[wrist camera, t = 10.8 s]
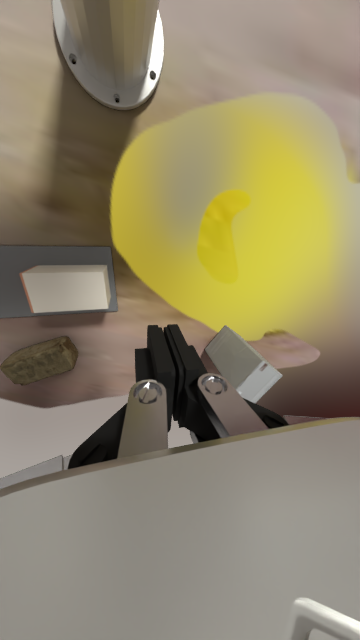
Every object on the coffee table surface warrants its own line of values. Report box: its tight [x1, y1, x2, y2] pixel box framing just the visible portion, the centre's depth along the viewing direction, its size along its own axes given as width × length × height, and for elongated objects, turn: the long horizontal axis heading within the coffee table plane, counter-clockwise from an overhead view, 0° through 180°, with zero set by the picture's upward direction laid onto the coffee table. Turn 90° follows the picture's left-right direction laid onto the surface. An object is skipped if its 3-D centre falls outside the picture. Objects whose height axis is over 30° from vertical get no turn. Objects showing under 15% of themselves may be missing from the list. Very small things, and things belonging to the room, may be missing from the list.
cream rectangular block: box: [19, 265, 111, 313], centre depth 32 cm, size 6×6×11 cm
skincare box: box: [205, 326, 282, 403], centre depth 42 cm, size 8×7×16 cm
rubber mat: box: [0, 246, 118, 318], centre depth 34 cm, size 12×20×1 cm, turn 88°
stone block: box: [0, 336, 78, 385], centre depth 38 cm, size 6×12×5 cm, turn 105°
